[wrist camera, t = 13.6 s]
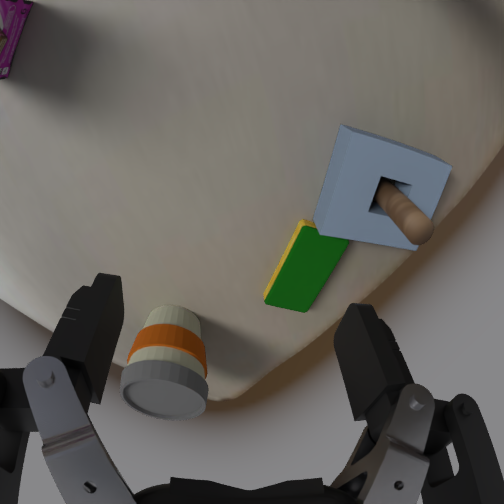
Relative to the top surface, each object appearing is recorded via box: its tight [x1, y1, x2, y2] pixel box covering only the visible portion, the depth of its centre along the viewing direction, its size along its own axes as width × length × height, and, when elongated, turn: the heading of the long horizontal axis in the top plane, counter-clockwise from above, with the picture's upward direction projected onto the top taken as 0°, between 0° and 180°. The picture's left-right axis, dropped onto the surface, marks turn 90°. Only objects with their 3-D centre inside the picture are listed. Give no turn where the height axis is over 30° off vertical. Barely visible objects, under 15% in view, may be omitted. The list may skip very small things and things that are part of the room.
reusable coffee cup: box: [120, 305, 208, 420], centre depth 44 cm, size 13×13×15 cm
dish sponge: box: [264, 219, 349, 313], centre depth 44 cm, size 7×14×2 cm, turn 160°
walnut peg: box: [373, 176, 434, 245], centre depth 33 cm, size 3×3×12 cm
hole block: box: [313, 124, 452, 251], centre depth 37 cm, size 13×15×4 cm
